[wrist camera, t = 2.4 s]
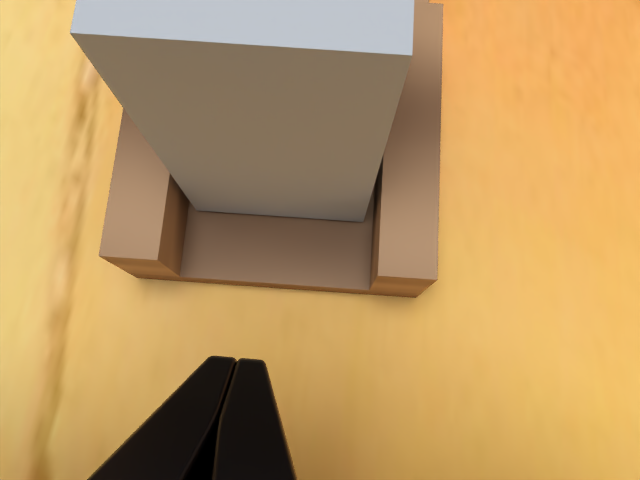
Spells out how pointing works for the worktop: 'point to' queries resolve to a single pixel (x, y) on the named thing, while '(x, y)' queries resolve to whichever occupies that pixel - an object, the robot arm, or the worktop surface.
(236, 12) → the block
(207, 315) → the worktop surface
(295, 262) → the tan cradle
